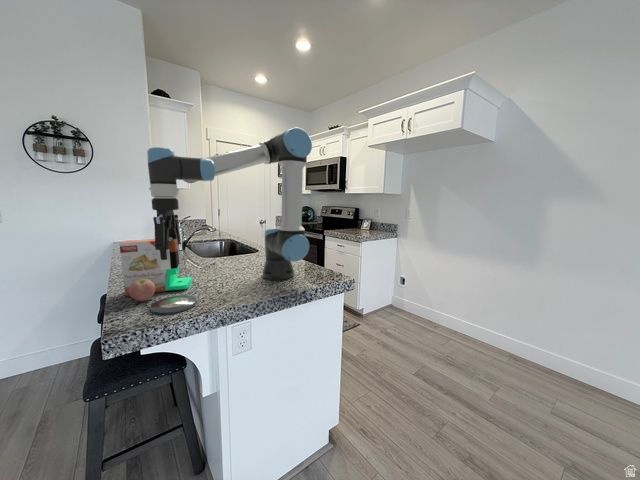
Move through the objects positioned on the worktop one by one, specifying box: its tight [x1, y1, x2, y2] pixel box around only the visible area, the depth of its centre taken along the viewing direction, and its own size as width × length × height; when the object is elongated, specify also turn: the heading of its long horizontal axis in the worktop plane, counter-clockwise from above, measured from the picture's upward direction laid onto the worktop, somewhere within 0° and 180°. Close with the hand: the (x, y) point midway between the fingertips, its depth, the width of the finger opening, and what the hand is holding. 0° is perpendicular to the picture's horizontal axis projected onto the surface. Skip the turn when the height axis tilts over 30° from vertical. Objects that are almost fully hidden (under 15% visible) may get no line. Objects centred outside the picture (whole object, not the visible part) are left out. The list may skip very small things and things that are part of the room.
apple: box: [129, 279, 156, 302], centre depth 96 cm, size 8×8×8 cm
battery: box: [168, 237, 180, 269], centre depth 89 cm, size 4×7×10 cm, turn 22°
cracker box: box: [119, 238, 167, 297], centre depth 104 cm, size 14×6×21 cm, turn 115°
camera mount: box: [164, 266, 193, 292], centre depth 110 cm, size 12×8×10 cm, turn 14°
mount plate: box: [150, 294, 198, 316], centre depth 92 cm, size 14×14×1 cm
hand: (170, 265), depth 89 cm, fingers closed on battery, 7 cm apart
